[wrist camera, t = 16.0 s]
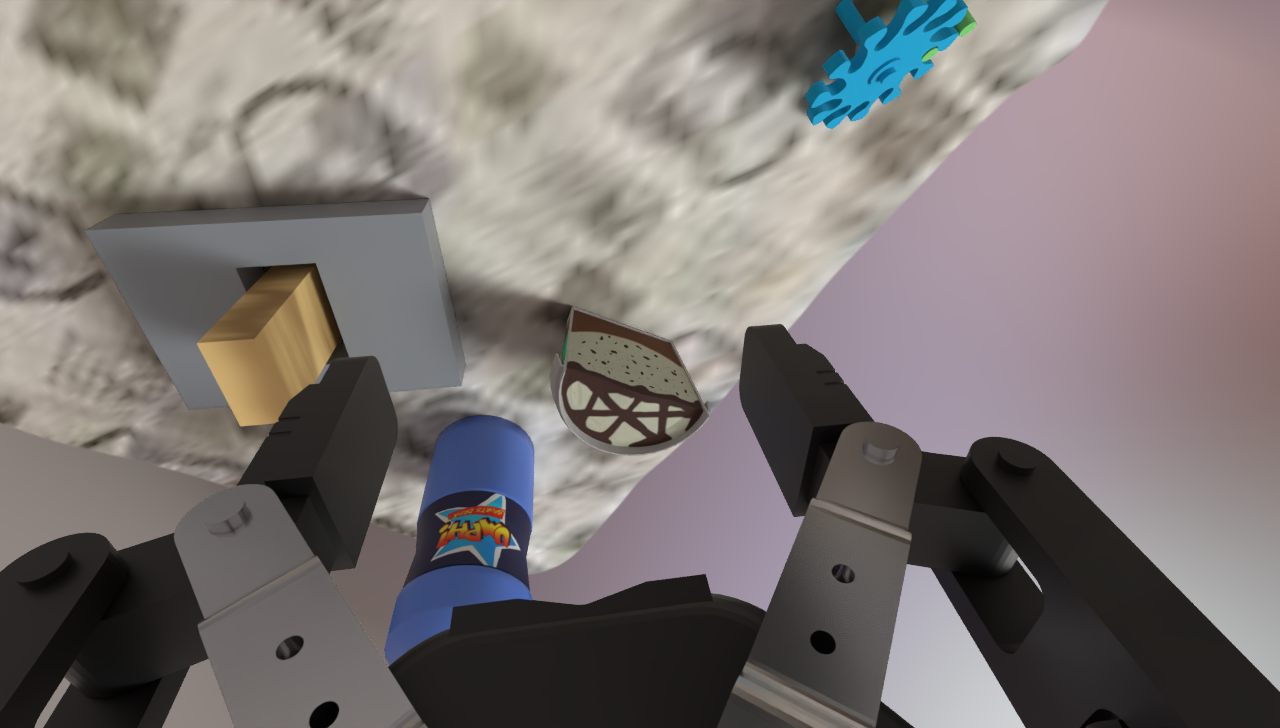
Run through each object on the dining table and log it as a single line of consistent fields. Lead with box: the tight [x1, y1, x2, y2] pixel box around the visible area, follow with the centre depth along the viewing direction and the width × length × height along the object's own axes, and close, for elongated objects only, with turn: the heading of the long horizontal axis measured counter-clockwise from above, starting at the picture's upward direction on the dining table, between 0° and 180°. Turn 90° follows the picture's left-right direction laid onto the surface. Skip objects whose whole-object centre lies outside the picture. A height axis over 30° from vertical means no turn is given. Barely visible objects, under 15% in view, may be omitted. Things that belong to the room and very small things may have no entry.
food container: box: [550, 306, 710, 456], centre depth 44 cm, size 12×6×10 cm, turn 64°
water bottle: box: [384, 416, 534, 665], centre depth 42 cm, size 9×9×25 cm
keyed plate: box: [84, 199, 466, 410], centre depth 41 cm, size 14×20×3 cm
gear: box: [805, 0, 977, 129], centre depth 35 cm, size 11×6×10 cm
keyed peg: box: [197, 263, 342, 426], centre depth 37 cm, size 3×6×11 cm, turn 0°
